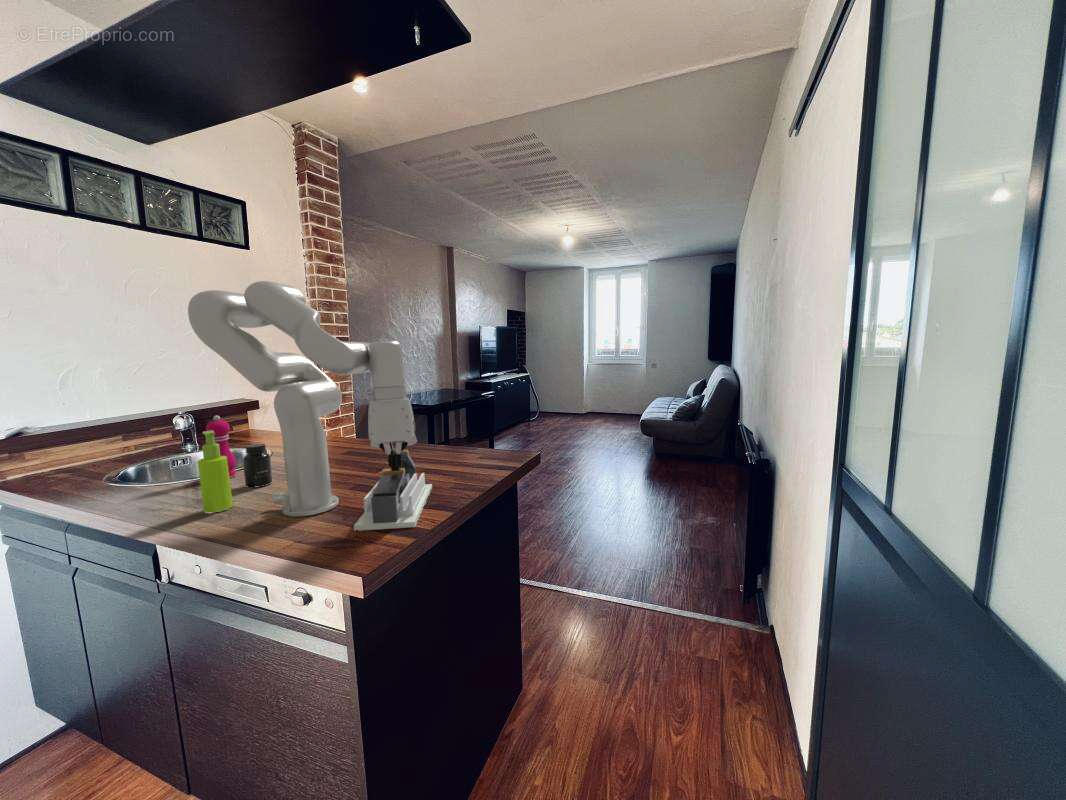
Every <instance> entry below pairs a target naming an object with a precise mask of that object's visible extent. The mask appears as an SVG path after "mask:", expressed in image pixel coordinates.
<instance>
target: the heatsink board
mask: <svg viewBox="0 0 1066 800" xmlns="http://www.w3.org/2000/svg"><path fill="white" fill-rule="evenodd" d="M425 475H426V474H425V472H422V473H421V474H420V476H419V478H418V473H417V465H415V468H413V469H405V476H404V478H403V481H402V484H401V486H400V489H399V492H398V494H397V496H396V495H394V496H376V497H373V493H374V491H375V488H376V486H377V484H378V482H379V481H377V483H375V485H374V486H373V487H372V488H371V490H370V491H368V493H367V494H366V495H365V497H363V507H364V510H363V511H364V512H363V513H362V514H361V516H360V517H359V518H358V520H357V521H356V522H355V523H354V524H353V531H354V532H356V530H358V531H371V530H372V531H374V530H386V529H387V530H389V529H404V528H416V525H417V523H418V522H417V521H419V519H420V517H421V515H422V513H423V510H424V508H423V507H425V506H424V505H426V503H427V501H428V499H427V498H429V497H428V496H430V495H431V492H432V490H433V483H428V484H427V483H426V478H425V477H426V476H425ZM431 489H432V490H431ZM430 491H431V492H430ZM426 500H427V501H426ZM420 514H421V515H420Z"/></svg>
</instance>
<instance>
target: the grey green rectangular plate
mask: <svg viewBox="0 0 1066 800" xmlns="http://www.w3.org/2000/svg"><path fill="white" fill-rule="evenodd" d="M393 450H394V452H395V451H396V449H393ZM409 453H410V452H409V449H404V450H403V451H402V460H403V465H402V466H401V468H405V469H413V468H415V466H416V464H415V462H414V460H413V459H412V457H411V455H410V454H409ZM386 458H388V455H387V454H386Z"/></svg>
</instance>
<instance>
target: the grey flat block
mask: <svg viewBox="0 0 1066 800" xmlns="http://www.w3.org/2000/svg"><path fill="white" fill-rule="evenodd" d="M381 473H382V474H381V476H380V478H379V482H378V481H377V483H378V484H377V483H376V484H377V486H376V488H375V491H374V493H373V497H376V496H394V495H396V496H397V494H398V492H399V489H400V486H401V484H402V481H403V478H404V476H405V468H400V469H399V470H398V471H396V470H394V471H391V468H383V469H382V472H381Z"/></svg>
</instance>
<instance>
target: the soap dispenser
mask: <svg viewBox="0 0 1066 800" xmlns="http://www.w3.org/2000/svg"><path fill="white" fill-rule="evenodd" d="M202 434H203V435H204V437H205V444H203V445H202V447H201V448H202V456H203V458H201V459H199V460H197V468H198V475H199V483H200V490H201V498H202V499H201V500H202V506H203V512H204V511H206V512H215V511H221V510H224V509H227V508H230V507H231V506H232V505H233V504H234V502H233V496H232V488H231V478H229V470H228V462H227V457H226V456H221V455H220V447H219V444H217V443H215V441H214V435H215V432H214V431H213V430H211V431H206V430H205V431H202ZM233 506H234V505H233Z"/></svg>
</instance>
